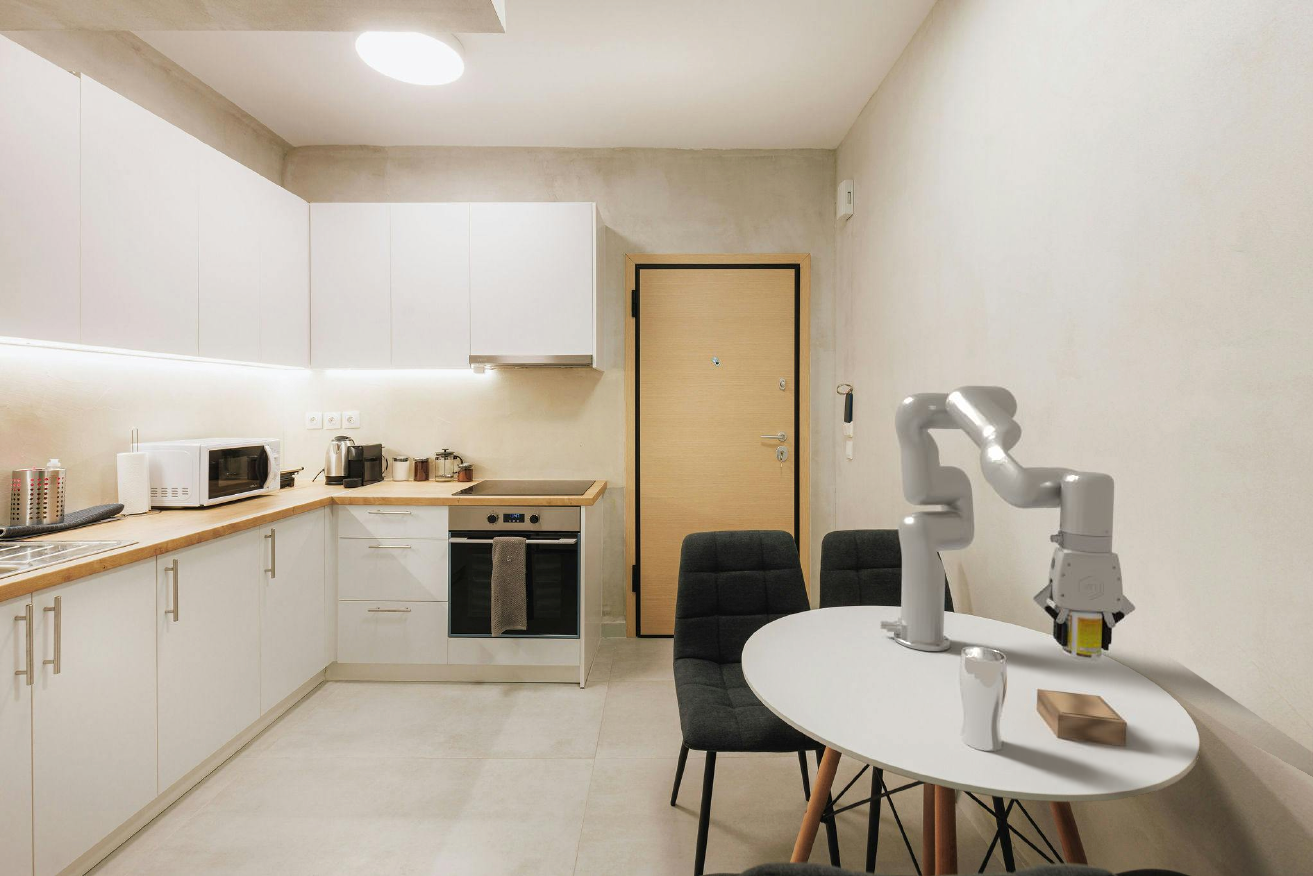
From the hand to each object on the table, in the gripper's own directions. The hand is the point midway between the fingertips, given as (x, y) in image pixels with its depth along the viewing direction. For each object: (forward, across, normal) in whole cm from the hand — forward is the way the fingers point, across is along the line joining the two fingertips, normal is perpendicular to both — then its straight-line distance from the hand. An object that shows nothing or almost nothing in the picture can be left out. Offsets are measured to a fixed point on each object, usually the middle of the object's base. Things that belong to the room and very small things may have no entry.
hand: (1081, 644), depth 106 cm
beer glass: (+15, -18, -10) cm, 25 cm away
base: (+15, 0, 0) cm, 15 cm away
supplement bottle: (+2, 0, 0) cm, 2 cm away
